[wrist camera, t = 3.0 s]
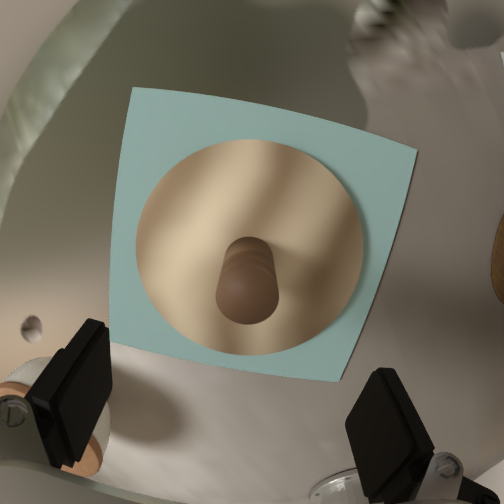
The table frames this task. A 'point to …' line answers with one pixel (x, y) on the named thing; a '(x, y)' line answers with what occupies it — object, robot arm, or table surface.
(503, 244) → the wooden container
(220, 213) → the maple lid
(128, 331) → the rubber mat
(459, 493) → the robot arm
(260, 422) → the table surface
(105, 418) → the lidded bowl
